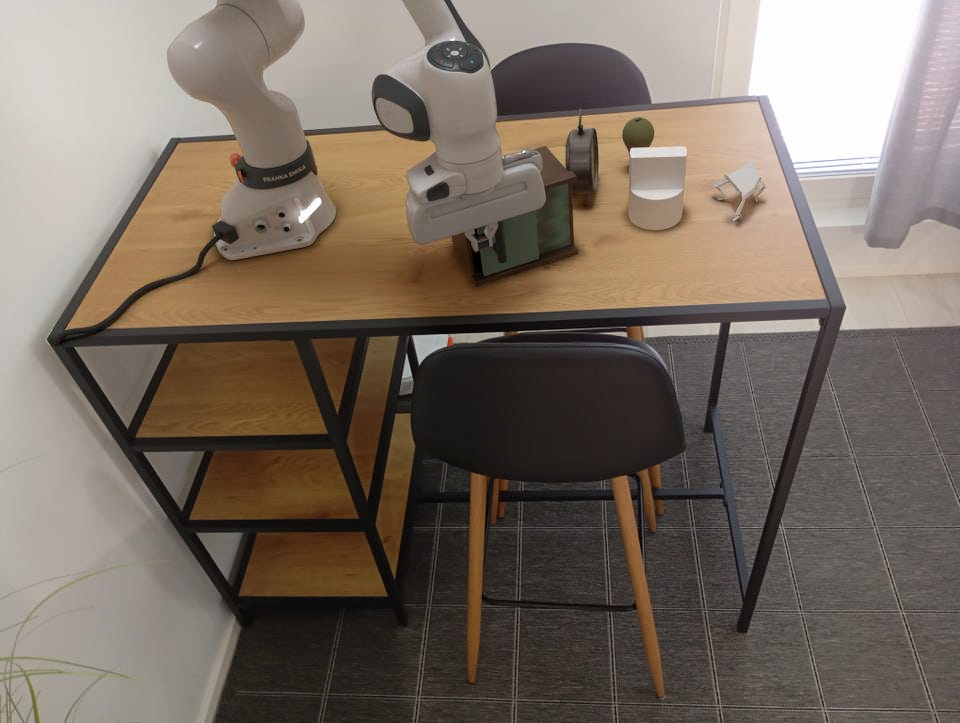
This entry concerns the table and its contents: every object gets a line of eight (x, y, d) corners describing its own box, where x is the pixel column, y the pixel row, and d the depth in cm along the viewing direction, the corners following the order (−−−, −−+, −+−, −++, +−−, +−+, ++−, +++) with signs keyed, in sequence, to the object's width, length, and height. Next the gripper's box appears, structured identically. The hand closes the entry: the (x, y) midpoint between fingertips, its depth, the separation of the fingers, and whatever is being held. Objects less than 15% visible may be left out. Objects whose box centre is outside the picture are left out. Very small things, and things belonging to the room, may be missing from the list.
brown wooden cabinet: (476, 287, 127) (464, 210, 116) (453, 247, 135) (440, 172, 124) (578, 254, 130) (576, 176, 119) (550, 217, 138) (545, 141, 127)
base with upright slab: (628, 230, 133) (629, 168, 124) (628, 199, 139) (629, 138, 130) (683, 229, 131) (688, 166, 123) (681, 198, 137) (686, 136, 129)
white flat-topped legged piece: (708, 187, 139) (711, 162, 135) (758, 184, 138) (762, 159, 134) (718, 227, 130) (721, 202, 127) (770, 225, 129) (775, 200, 126)
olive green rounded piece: (645, 180, 143) (647, 129, 135) (616, 173, 145) (617, 124, 138) (657, 164, 146) (660, 114, 139) (629, 158, 148) (630, 109, 141)
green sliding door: (493, 291, 124) (485, 226, 115) (482, 273, 127) (473, 209, 118) (549, 273, 125) (545, 208, 116) (537, 256, 129) (532, 191, 120)
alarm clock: (594, 210, 138) (593, 126, 126) (563, 210, 139) (559, 126, 127) (600, 176, 145) (599, 93, 134) (570, 175, 146) (567, 93, 135)
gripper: (532, 134, 112) (538, 216, 122) (394, 175, 109) (412, 255, 118) (550, 155, 108) (555, 237, 117) (407, 198, 104) (424, 279, 114)
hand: (482, 247), depth 118 cm, fingers closed
